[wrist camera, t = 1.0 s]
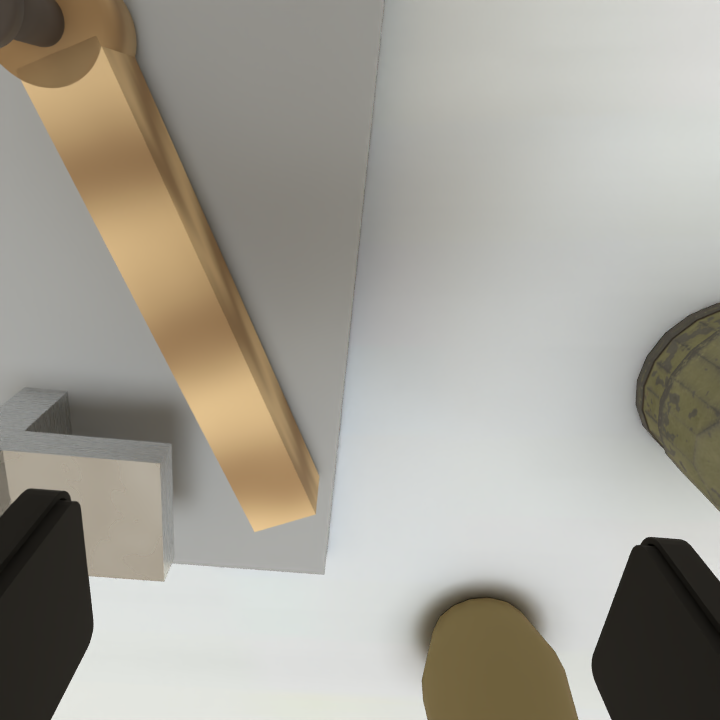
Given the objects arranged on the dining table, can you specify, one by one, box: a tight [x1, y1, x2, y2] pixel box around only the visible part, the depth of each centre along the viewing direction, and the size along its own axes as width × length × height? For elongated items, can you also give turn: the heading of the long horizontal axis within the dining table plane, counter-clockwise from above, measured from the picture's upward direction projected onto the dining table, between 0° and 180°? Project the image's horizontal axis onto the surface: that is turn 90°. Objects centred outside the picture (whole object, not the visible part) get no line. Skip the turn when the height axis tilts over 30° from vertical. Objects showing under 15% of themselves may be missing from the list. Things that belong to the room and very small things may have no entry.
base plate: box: [0, 0, 385, 575], centre depth 25 cm, size 30×19×2 cm, turn 174°
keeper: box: [0, 387, 175, 581], centre depth 25 cm, size 6×8×5 cm
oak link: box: [0, 0, 320, 532], centre depth 21 cm, size 23×4×7 cm, turn 19°
